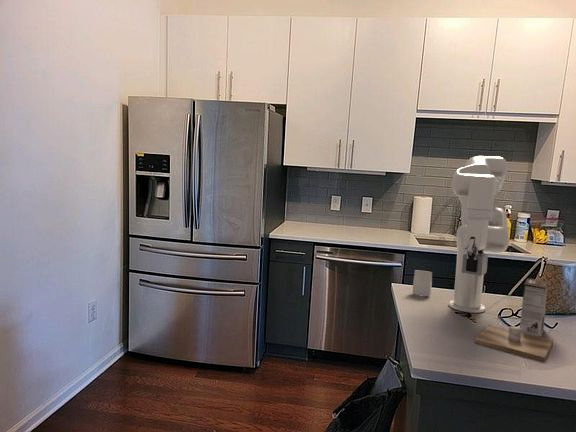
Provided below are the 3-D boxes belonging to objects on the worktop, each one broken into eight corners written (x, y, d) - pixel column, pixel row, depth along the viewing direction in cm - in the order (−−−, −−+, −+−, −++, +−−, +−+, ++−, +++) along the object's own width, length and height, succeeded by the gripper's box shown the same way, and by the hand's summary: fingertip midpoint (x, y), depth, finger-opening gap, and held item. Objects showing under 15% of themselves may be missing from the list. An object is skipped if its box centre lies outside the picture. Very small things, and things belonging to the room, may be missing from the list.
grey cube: (467, 269, 142) (468, 251, 141) (486, 272, 138) (488, 254, 138) (461, 272, 137) (463, 254, 137) (481, 276, 134) (483, 257, 133)
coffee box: (522, 324, 145) (526, 277, 143) (544, 328, 141) (549, 281, 139) (518, 332, 137) (523, 283, 135) (541, 337, 134) (546, 287, 132)
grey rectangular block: (429, 297, 172) (431, 273, 171) (412, 294, 175) (414, 270, 174) (430, 295, 175) (432, 271, 174) (414, 292, 178) (415, 269, 177)
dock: (488, 328, 140) (490, 314, 139) (552, 344, 128) (554, 329, 128) (474, 342, 127) (476, 327, 127) (544, 361, 116) (545, 345, 116)
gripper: (474, 211, 144) (470, 263, 147) (458, 215, 131) (453, 272, 133) (498, 213, 140) (493, 267, 142) (484, 217, 126) (479, 276, 129)
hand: (474, 269), depth 138 cm, fingers closed on grey cube, 6 cm apart
